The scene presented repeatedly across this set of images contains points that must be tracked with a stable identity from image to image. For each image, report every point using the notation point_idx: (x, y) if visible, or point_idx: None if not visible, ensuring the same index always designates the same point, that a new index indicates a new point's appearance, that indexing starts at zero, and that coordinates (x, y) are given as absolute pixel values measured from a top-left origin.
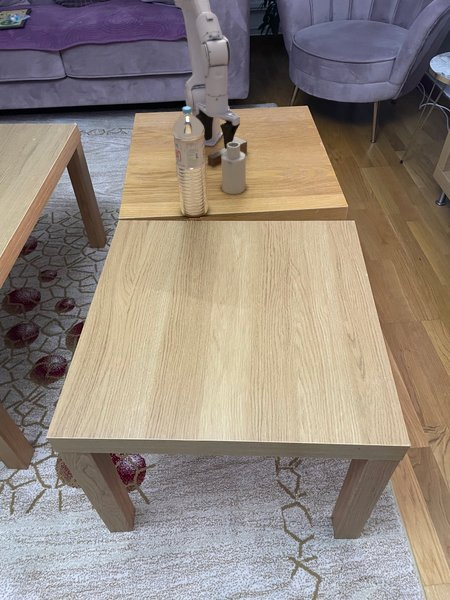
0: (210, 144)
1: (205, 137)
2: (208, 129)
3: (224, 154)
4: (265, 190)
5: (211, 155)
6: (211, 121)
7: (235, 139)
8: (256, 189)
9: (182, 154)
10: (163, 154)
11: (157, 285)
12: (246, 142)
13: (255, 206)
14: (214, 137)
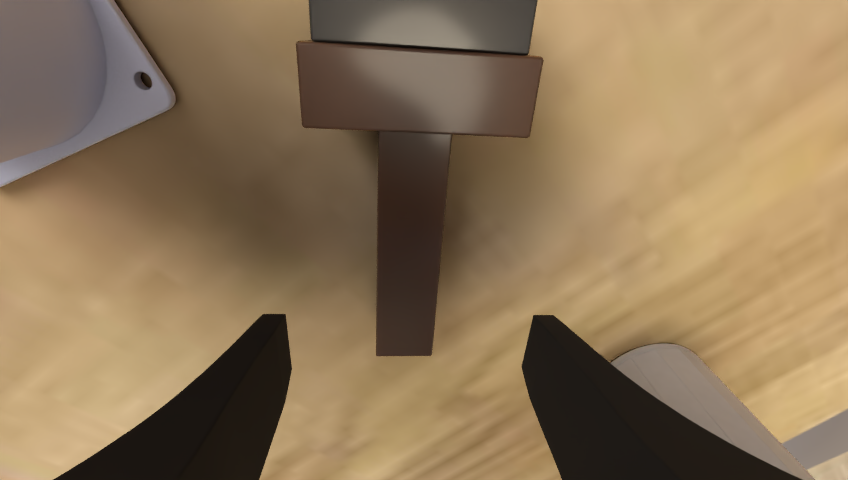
0: (142, 108)
1: (279, 404)
2: (251, 431)
3: None
4: (805, 314)
5: (391, 336)
6: (206, 474)
7: (413, 64)
8: (757, 332)
9: None
10: (66, 387)
11: None
12: (534, 2)
13: (789, 417)
14: (69, 17)
